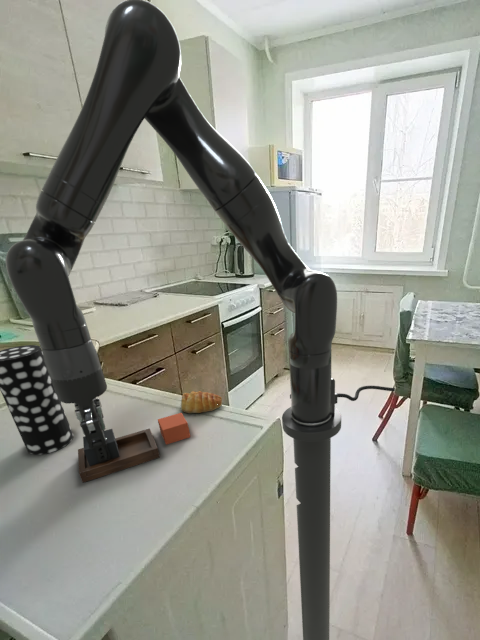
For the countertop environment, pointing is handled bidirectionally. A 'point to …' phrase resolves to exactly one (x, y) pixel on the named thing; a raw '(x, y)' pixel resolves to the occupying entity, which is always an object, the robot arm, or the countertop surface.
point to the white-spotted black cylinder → (33, 400)
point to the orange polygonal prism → (174, 428)
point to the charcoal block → (110, 443)
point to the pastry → (200, 402)
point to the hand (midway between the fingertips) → (103, 452)
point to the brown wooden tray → (121, 455)
